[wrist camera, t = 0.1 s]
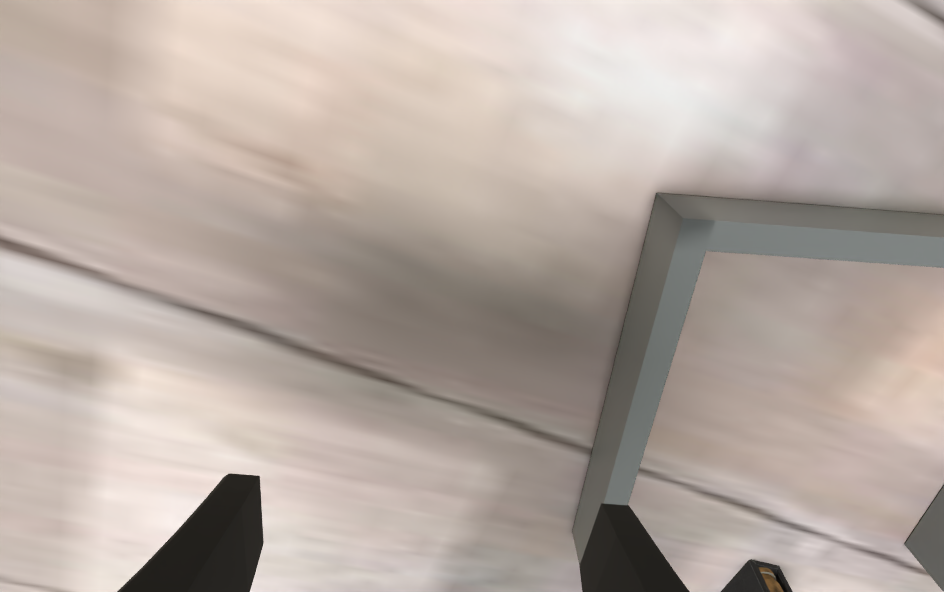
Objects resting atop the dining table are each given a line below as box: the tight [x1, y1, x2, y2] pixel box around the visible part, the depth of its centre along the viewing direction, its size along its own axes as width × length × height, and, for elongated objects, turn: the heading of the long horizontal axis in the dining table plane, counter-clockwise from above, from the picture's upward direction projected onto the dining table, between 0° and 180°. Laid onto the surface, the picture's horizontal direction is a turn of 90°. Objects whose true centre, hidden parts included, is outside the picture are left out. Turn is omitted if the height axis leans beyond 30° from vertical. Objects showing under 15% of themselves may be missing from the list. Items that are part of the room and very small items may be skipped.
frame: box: [572, 193, 944, 591], centre depth 22 cm, size 17×18×2 cm
